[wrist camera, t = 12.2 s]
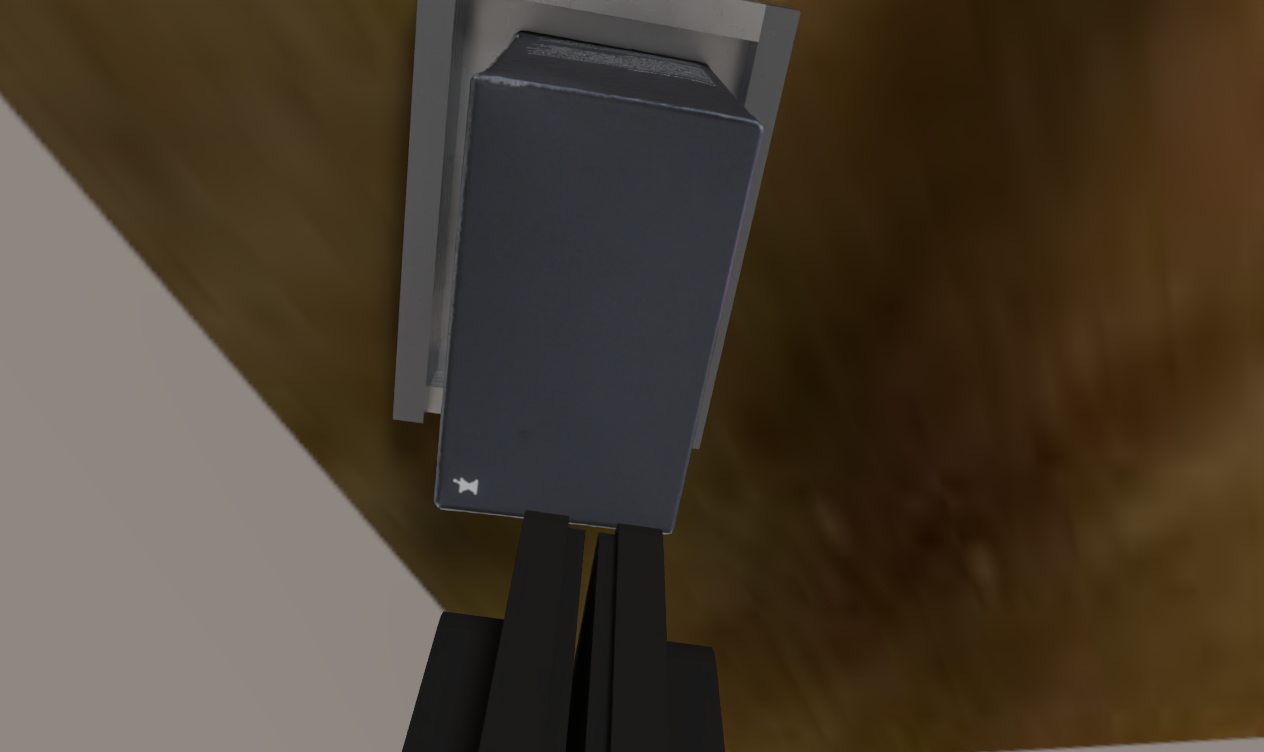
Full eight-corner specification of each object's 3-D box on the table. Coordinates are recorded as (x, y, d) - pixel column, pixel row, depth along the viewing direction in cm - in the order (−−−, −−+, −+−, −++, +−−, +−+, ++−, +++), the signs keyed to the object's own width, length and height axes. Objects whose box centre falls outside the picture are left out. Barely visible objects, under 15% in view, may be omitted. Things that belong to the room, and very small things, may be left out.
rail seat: (786, 5, 27) (806, 12, 24) (693, 416, 34) (701, 460, 31) (442, -58, 26) (420, -58, 24) (412, 377, 33) (392, 419, 30)
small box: (662, 370, 32) (682, 550, 22) (479, 344, 31) (420, 518, 22) (723, 62, 27) (781, 124, 18) (510, 25, 27) (454, 69, 17)
